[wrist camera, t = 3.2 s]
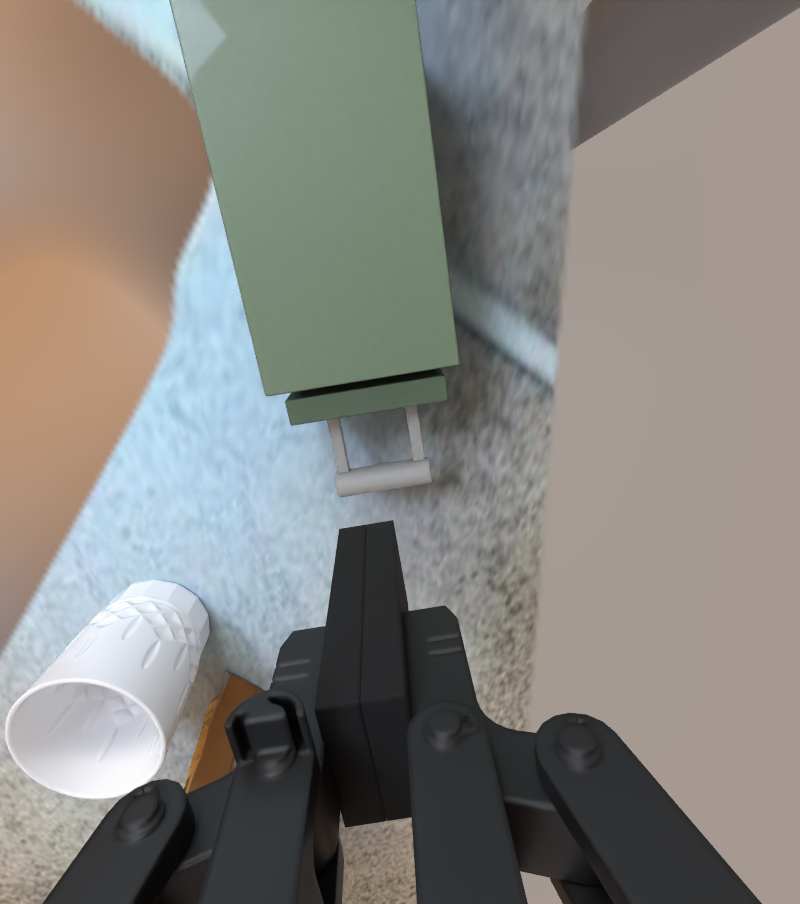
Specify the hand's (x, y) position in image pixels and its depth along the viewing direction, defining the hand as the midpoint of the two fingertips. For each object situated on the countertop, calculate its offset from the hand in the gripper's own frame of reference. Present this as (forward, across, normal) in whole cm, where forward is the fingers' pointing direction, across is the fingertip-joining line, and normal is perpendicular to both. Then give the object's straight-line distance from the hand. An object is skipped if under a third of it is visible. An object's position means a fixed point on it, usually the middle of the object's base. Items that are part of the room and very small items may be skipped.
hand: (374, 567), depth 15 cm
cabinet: (+18, 0, +11) cm, 21 cm away
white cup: (+19, -17, -12) cm, 28 cm away
